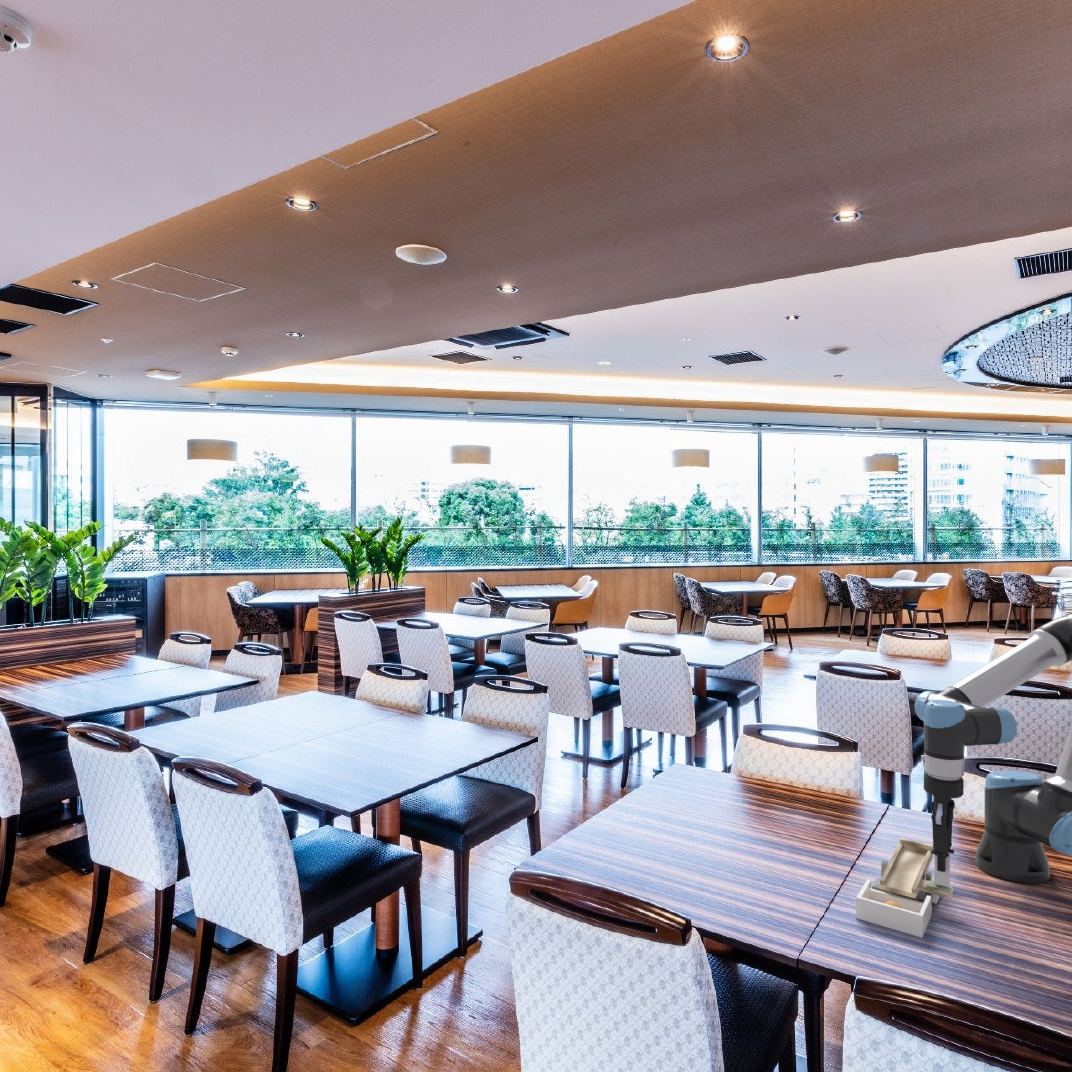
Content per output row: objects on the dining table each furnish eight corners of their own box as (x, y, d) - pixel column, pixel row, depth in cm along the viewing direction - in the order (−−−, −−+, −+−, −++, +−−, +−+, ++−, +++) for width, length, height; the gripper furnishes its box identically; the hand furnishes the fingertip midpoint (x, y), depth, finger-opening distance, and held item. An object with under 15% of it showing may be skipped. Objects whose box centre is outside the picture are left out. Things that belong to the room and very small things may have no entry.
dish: (931, 915, 161) (932, 894, 161) (922, 937, 153) (922, 916, 153) (868, 897, 169) (868, 877, 169) (855, 918, 160) (856, 897, 160)
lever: (962, 863, 175) (962, 851, 175) (947, 907, 158) (947, 894, 158) (899, 848, 183) (899, 837, 182) (879, 888, 166) (879, 876, 165)
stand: (940, 897, 169) (940, 871, 169) (936, 906, 165) (936, 879, 165) (877, 880, 177) (877, 855, 177) (872, 888, 173) (872, 863, 172)
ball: (903, 901, 160) (899, 906, 157) (902, 918, 160) (899, 924, 157) (885, 896, 162) (881, 901, 159) (884, 913, 162) (880, 918, 159)
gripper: (929, 763, 170) (927, 867, 171) (918, 779, 160) (916, 891, 160) (967, 769, 166) (966, 877, 167) (959, 787, 155) (957, 901, 156)
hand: (942, 883), depth 163 cm, fingers closed
